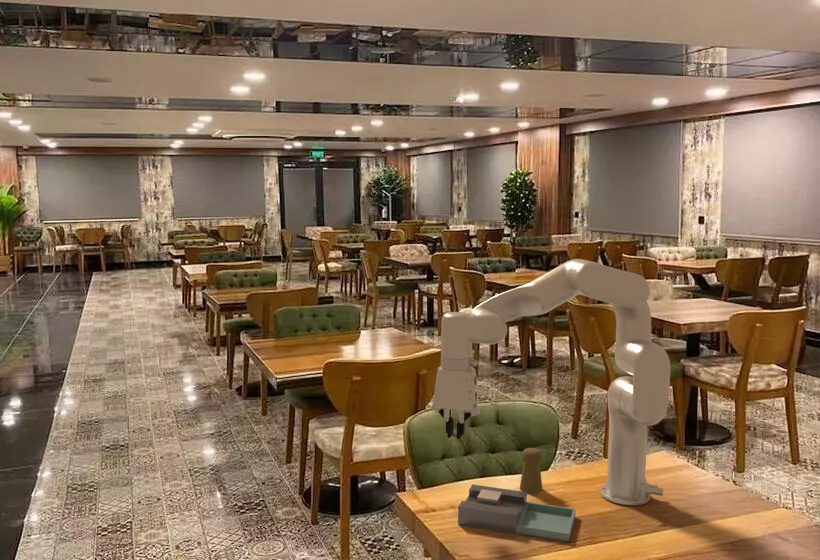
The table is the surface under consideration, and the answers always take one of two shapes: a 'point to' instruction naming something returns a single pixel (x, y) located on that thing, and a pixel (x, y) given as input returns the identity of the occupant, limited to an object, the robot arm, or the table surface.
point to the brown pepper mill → (531, 471)
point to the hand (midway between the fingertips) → (454, 436)
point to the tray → (546, 521)
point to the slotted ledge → (492, 510)
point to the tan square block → (490, 497)
